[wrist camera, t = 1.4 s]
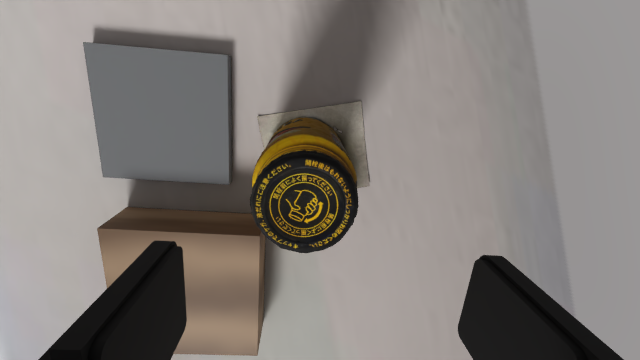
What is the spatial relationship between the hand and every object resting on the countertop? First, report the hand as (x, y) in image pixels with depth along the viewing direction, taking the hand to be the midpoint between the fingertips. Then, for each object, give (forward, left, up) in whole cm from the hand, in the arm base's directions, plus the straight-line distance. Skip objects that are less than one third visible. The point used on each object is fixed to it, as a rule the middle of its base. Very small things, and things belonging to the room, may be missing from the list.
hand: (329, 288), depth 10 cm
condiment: (0, 0, -17) cm, 17 cm away
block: (+12, -10, -17) cm, 23 cm away
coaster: (-2, -12, -17) cm, 21 cm away
